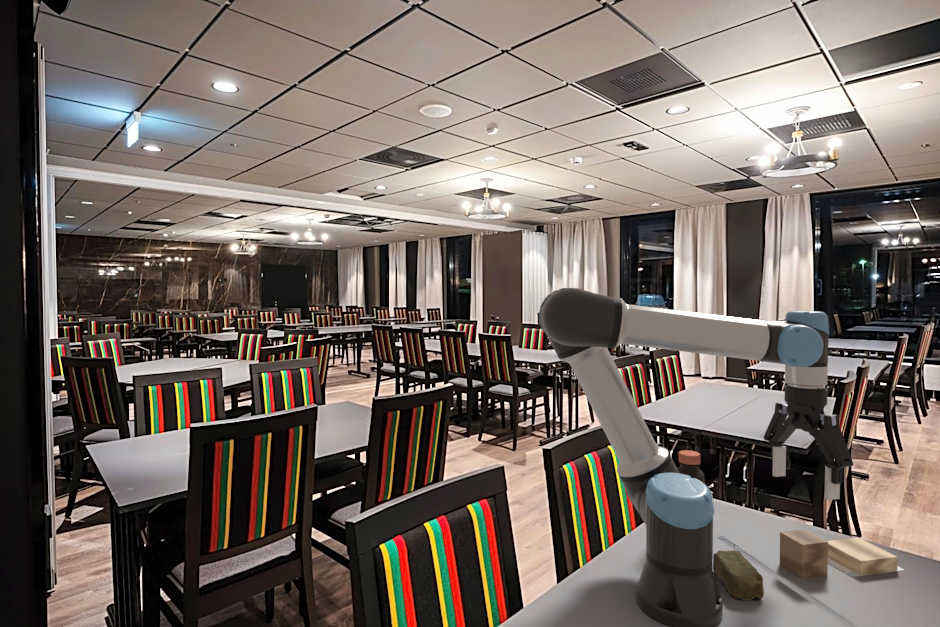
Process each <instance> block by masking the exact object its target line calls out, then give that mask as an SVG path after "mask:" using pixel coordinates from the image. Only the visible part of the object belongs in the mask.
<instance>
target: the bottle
mask: <svg viewBox="0 0 940 627" xmlns="http://www.w3.org/2000/svg"><path fill="white" fill-rule="evenodd" d="M678 464H679V467H678V468H677V469H678V471H679V473H680V474H684V475H688V476H690V477H691V478H696V479H698V480H700V481H701V482H703V483H704V484H705V473H704V472H703V471H702V470H701V469H700V468H699V467H700V466H701V453H699V451H694V450H688V449H685V450H683V449H682V450H680V451H678Z"/></svg>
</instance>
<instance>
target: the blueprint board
mask: <svg viewBox="0 0 940 627" xmlns="http://www.w3.org/2000/svg"><path fill="white" fill-rule="evenodd" d="M828 564H829V565H831V566H833V567H834V568H837V570H840V571H842V572H843V573H844V574H846V575H849V576H850V577H853V578H854V577H862V576H863V577H864V576H865V575H862V576H861V575H859V574H857V573H855V572H853V571H852V570H850V569H848V568H846V567H845V566H843V565H841V564H839V563H837V562H836V561H834V560H832V559H830V558H829V557H828ZM902 571H905V569H904V568H902V567H900V566H899V565H897V571H893V572H892V573H894V572H895V573H896V572H902ZM887 573H888V572H886V573H885V574H887ZM878 574H880V575H881V573H878ZM878 574H877V575H878ZM871 575H873V574H870V575H869V576H871Z"/></svg>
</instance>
